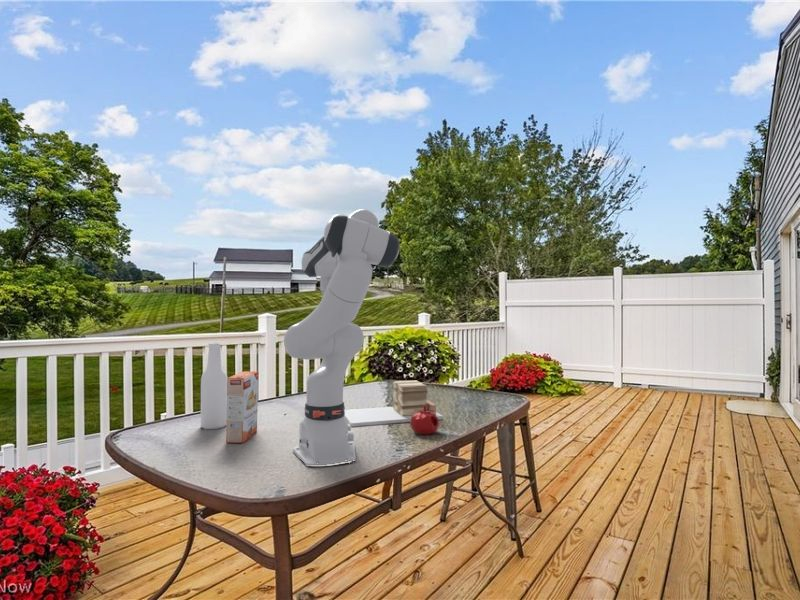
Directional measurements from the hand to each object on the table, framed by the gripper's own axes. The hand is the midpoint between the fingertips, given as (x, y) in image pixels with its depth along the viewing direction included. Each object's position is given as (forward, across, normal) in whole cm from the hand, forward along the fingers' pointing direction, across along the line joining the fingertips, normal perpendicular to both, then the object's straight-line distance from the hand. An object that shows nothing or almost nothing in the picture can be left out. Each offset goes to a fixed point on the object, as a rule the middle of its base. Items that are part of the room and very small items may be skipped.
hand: (331, 322), depth 177 cm
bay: (+37, -4, -23) cm, 44 cm away
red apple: (+37, -28, -28) cm, 54 cm away
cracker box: (+37, -16, +32) cm, 52 cm away
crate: (+36, -4, -31) cm, 47 cm away
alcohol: (+37, 0, +42) cm, 56 cm away
